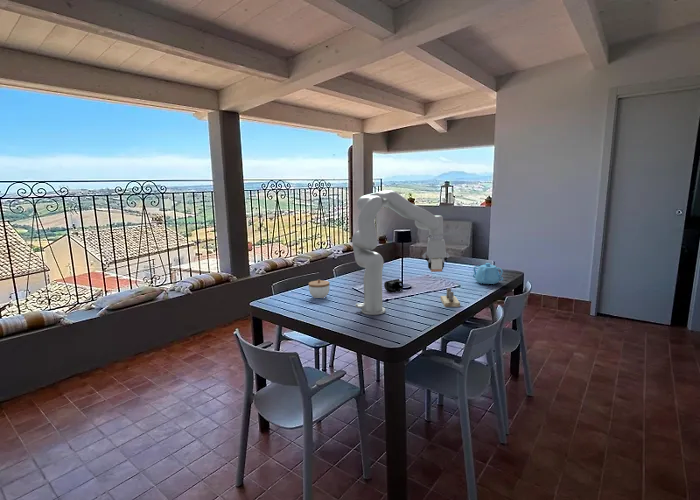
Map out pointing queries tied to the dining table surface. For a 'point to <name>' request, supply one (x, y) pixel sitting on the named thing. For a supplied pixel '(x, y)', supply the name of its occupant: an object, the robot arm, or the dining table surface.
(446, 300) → the pin board
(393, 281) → the end cap
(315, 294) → the lidded bowl
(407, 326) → the dining table surface
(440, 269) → the sleeve
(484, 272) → the decorative pot
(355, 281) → the dining table surface
